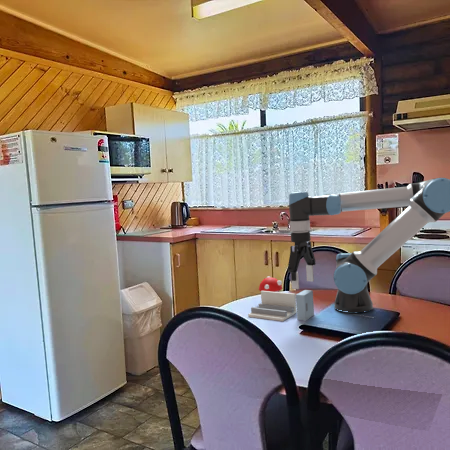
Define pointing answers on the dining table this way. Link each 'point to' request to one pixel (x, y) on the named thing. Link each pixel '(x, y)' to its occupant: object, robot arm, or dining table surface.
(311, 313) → the door
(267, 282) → the mushroom
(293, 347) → the dining table surface
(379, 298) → the dining table surface
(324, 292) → the dining table surface
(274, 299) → the track
